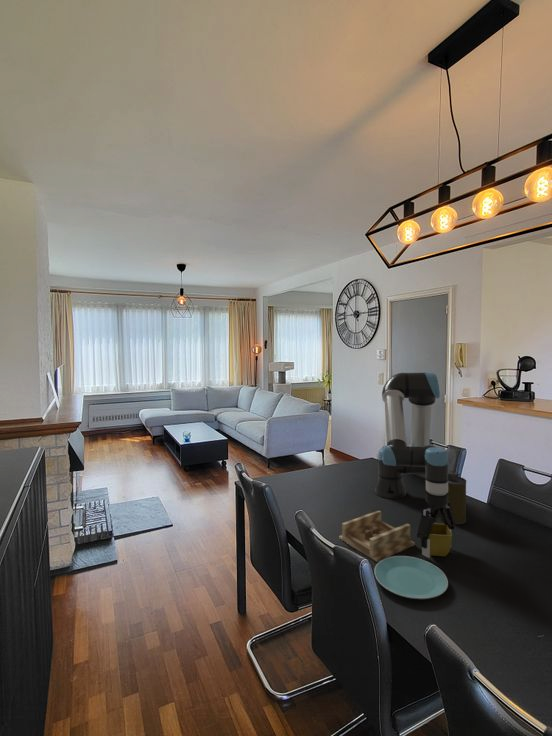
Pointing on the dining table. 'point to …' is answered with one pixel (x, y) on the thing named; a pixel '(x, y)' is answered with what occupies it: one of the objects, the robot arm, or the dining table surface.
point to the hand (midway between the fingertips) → (436, 550)
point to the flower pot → (440, 540)
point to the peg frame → (376, 536)
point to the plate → (411, 577)
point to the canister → (457, 497)
